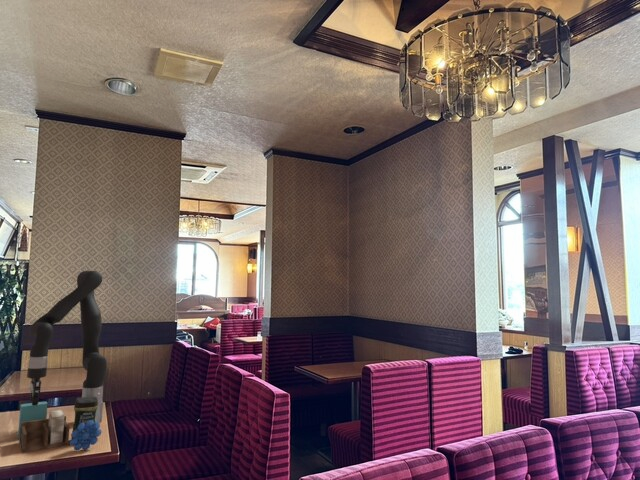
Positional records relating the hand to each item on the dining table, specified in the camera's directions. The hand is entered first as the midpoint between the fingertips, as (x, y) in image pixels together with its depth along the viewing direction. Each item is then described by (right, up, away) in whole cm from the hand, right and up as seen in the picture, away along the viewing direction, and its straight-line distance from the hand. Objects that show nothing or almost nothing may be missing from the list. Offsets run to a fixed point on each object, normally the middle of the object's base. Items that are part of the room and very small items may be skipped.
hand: (33, 402), depth 202 cm
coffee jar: (+25, -15, -5) cm, 30 cm away
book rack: (+11, -14, -10) cm, 20 cm away
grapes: (+31, -14, -15) cm, 37 cm away
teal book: (0, -14, -1) cm, 15 cm away
